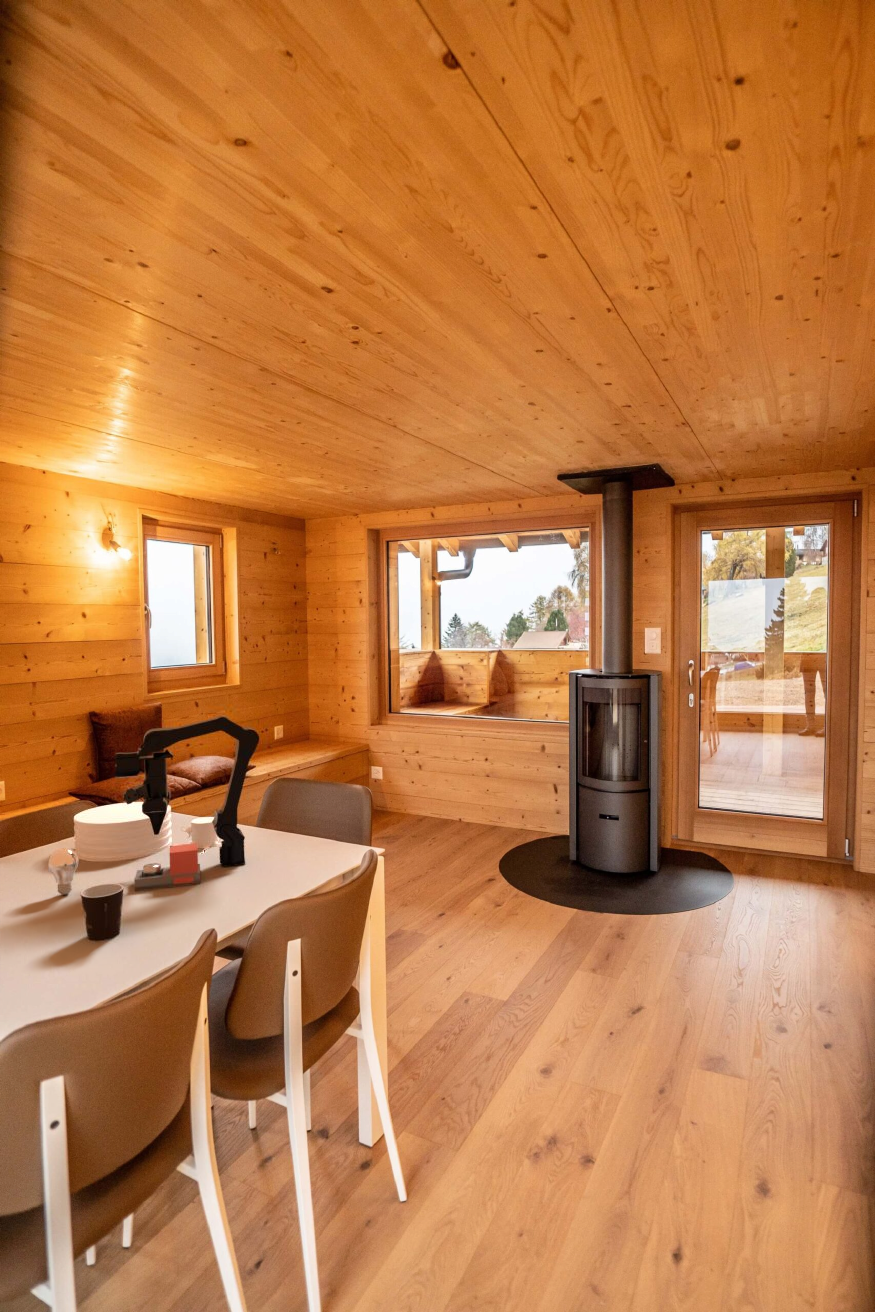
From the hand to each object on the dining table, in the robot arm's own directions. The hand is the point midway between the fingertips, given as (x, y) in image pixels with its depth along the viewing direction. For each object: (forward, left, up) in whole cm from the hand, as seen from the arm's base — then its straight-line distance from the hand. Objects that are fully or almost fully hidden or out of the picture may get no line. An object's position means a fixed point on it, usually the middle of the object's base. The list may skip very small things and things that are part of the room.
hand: (157, 830), depth 204 cm
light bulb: (+22, +10, -12) cm, 27 cm away
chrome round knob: (+1, +10, -9) cm, 13 cm away
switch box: (-3, +9, -12) cm, 16 cm away
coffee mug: (+9, +43, -12) cm, 46 cm away
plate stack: (+12, -31, -12) cm, 36 cm away
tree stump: (-12, -25, -13) cm, 30 cm away
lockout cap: (-7, +10, -9) cm, 15 cm away
